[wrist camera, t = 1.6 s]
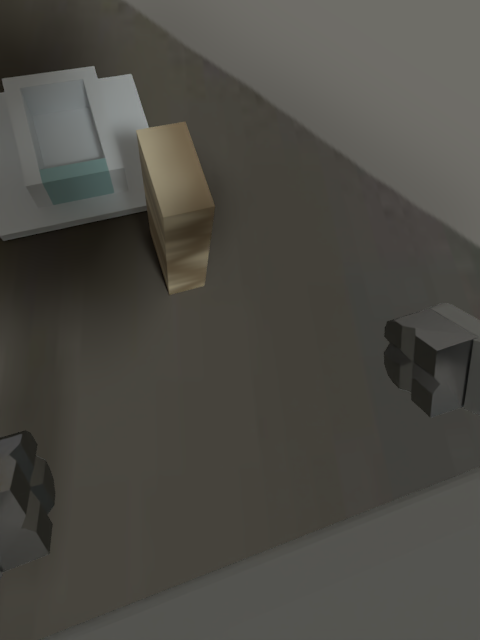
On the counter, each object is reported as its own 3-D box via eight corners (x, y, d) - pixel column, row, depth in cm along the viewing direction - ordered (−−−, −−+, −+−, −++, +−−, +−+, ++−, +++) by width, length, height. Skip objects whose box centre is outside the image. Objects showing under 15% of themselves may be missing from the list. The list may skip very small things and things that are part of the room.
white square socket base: (3, 240, 35) (-18, 216, 31) (-25, 103, 38) (-46, 67, 34) (172, 205, 37) (171, 178, 34) (132, 80, 41) (127, 45, 37)
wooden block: (169, 294, 35) (163, 217, 24) (150, 231, 36) (135, 130, 25) (204, 285, 36) (215, 206, 24) (184, 223, 37) (185, 121, 26)
